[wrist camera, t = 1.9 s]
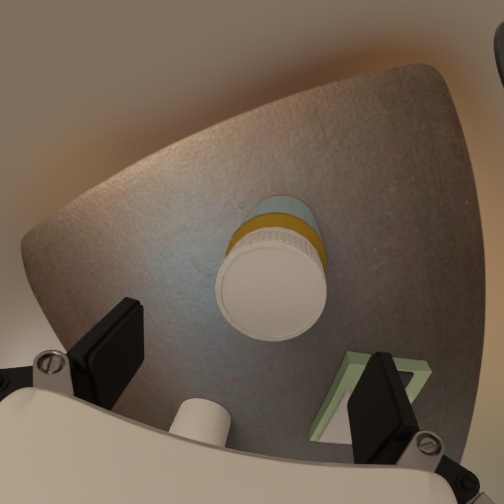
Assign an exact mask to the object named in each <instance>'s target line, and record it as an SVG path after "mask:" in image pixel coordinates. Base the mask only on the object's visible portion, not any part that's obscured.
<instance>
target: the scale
mask: <svg viewBox="0 0 504 504" xmlns="http://www.w3.org/2000/svg"><path fill="white" fill-rule="evenodd" d="M371 355H372V354H365V353H358V352H351V351H347V352H346V354H345V357H344V359H343V361H342V364H341V366H340V368H339V370H338V372H337V375H336V377H335V379H334V381H333V383H332V385H331V387H330V389H329V392H328V394H327V396H326V398H325V400H324V402H323V404H322V406H321V408H320V410H319V412H318V414H317V415H316V417H315V419H314V421H313V423H312V425H311V427H310V440H311V441H318V442H328V443H340V444H352V439H351V432H350V425H349V418H348V411H347V402H348V400H349V398H350V396H351V394H352V392H353V390H354V388H355V386H356V384H357V382H358V381H359V379H360V377H361V375H362V373H363V371H364V369H365V367H366V364H367V362H368V360H369V358H370V356H371ZM392 358H393V360H394V362H395V365H396V367H397V370H398V372H399V375H400V377H401V380H402V382H403V385H404V388H405V390H406V393H407V395H408V398H409V401H410V404H412V402H413V401H414V400H415V398H416V397H417V395H418V393H419V392H420V390H421V389H422V387H423V386H424V384H425V383H426V381H427V379H428V378H429V376H430V374H431V373H432V371H431V369H430V367H429V365H428V363H427V361H423V360H413V359H404V358H395V357H392Z"/></svg>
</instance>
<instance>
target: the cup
mask: <svg viewBox="0 0 504 504" xmlns="http://www.w3.org/2000/svg"><path fill="white" fill-rule="evenodd" d="M230 424H231V416H230V414H229V413H228V412H227V410H226V409H224V408H223V407H222V406H220V405H219V404H217V403H215V402H213V401H210V400H206V399H201V398H192V399H188V400H186V401H184V402H183V403H182V404H181V406H180V408H179V410H178V413H177V415H176V417H175V419H174V421H173V424H172V426H171V428H170V430H169V433H172V434H176V435H179V436H182V437H186V438H189V439H193V440H197V441H200V442H204V443H208V444H212V445H216V446H220V447H225V443H226V439H227V436H228V432H229V428H230Z"/></svg>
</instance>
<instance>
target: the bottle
mask: <svg viewBox="0 0 504 504" xmlns="http://www.w3.org/2000/svg"><path fill="white" fill-rule="evenodd" d="M326 267H327V258H326V253H325V248H324V244H323V241H322V237H321V234H320V231H319V228H318V224H317V221H316V218H315V216H314V214H313V213H312V211H311V209H310V208H309V207H308V206H307V205H306V204H305V203H304V202H302V201H301V200H299V199H297V198H295V197H292V196H288V195H276V196H271V197H268V198H266V199H264V200H263V201H261V202H260V203H258V204H257V205H256V206H255V207H254V209H253V210H252V211H251V212H250V214H249V215H248V216H247V218H246V219H245V220H244V222H243V223H242V224H241V226H240V227H239V228H238V230H237V231H236V232H235V234H234V235H233V237H232V239H231V240H230V243H229V246H228V249H227V251H226V258H225V260H224V262H223V263H222V265H221V266H220V269H219V271H218V275H217V277H216V279H217V280H216V283H215V284H216V287H215V292H216V300H217V303H218V306H219V309H220V311H221V313H222V314H223V316H224V317H225V319H226V320H227V321H228V322H229V323H230V324H231V325H232V326H233V327H234V328H235V329H237V330H238V331H240V332H241V333H243V334H245V335H247V336H249V337H252V338H254V339H258V340H263V341H282V340H287V339H291V338H294V337H296V336H298V335H300V334H302V333H304V332H305V331H307V330H308V329H309V328H310V327H311V326H313V324H314V323H315V322H316V321H317V320H318V318H319V317H320V315H321V313H322V311H323V309H324V305H325V301H326V299H327V297H326V294H327V284H326V279H325V274H326Z"/></svg>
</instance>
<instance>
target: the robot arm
mask: <svg viewBox="0 0 504 504" xmlns="http://www.w3.org/2000/svg"><path fill="white" fill-rule="evenodd" d="M143 360H144V323H143V306H142V305H140V302H139V301H138V300H135V299H132V298H128V297H125V298H124V299H123V300H122V301H121V302H120V303H119V304H118V305H117V306H115V307H114V308H113V309H112V310H111V311H110V312H109V313H108V314H107V315H106V316H105V317H104V318H103V319H102V320H101V321H100V322H98V323H97V324H96V325H95V326H94V327H93V328H92V329H91V330H90V331H89V332H88V333H87V334H86V335H85V336H83V337H82V338H81V339H80V340H79V341H78V342H77V343H76V344H75V345H74V346H73V347H72V348H71V349H70V350H69V351H68V352H67V353H66V354H64V353H62V352H61V351H57V350H47V351H44V352H41V353H40V354H38V355H37V356H36V357H35V359H34V362H33V366H26V367H17V368H8V369H0V504H494V502H492V500H491V499H490V498H489V497H488V496H487V495H486V494H485V493H484V492H482V493H481V494H480V493H479V489H480V483H479V480H478V478H477V477H476V476H475V474H473V473H472V472H471V471H468V470H467V469H466V468H464V467H462V466H461V465H459V464H458V463H456V462H454V461H453V460H451V459H450V458H448V457H447V456H445V455H443V453H444V450H445V445H444V442H443V440H442V438H441V437H440V436H439V435H438V434H436V433H435V432H433V431H430V430H419V427H418V423H417V420H416V417H415V415H414V412H413V409H412V406H411V404H410V401H409V398H408V395H407V393H406V390H405V388H404V385H403V382H402V380H401V377H400V375H399V372H398V370H397V367H396V365H395V362H394V360H393V358H392V355H391V354H390V353H386V352H376V353H375V355H374V354H373V355H371V356H370V358H369V360H368V362H367V364H366V367H365V369H364V371H363V373H362V375H361V377H360V379H359V381H358V382H357V384H356V386H355V388H354V390H353V392H352V394H351V396H350V398H349V400H348V402H347V411H348V418H349V425H350V432H351V439H352V447H353V455H354V464H344V463H327V462H314V461H304V460H295V459H287V458H280V457H273V456H266V455H260V454H255V453H249V452H244V451H239V450H234V449H229V448H225V447H220V446H216V445H212V444H208V443H204V442H200V441H197V440H193V439H189V438H186V437H182V436H179V435H176V434H172V433H169V432H166V431H163V430H160V429H157V428H154V427H151V426H148V425H145V424H143V423H140V422H137V421H134V420H132V419H129V418H126V417H124V416H121V415H119V414H116V413H114V412H111V409H112V408H113V406H114V405H115V403H116V402H117V400H118V399H119V397H120V396H121V394H122V393H123V391H124V390H125V388H126V387H127V385H128V384H129V382H130V381H131V379H132V378H133V376H134V375H135V373H136V372H137V370H138V369H139V367H140V366H141V364H142V363H143Z"/></svg>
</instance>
